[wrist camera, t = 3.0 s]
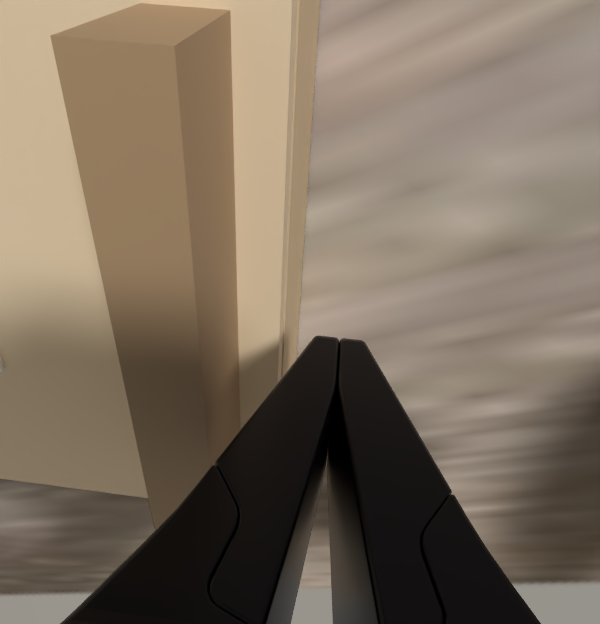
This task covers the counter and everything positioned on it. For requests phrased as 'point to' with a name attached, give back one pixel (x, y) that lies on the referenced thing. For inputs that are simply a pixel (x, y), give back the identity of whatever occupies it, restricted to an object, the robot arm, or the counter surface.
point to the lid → (140, 236)
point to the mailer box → (299, 170)
